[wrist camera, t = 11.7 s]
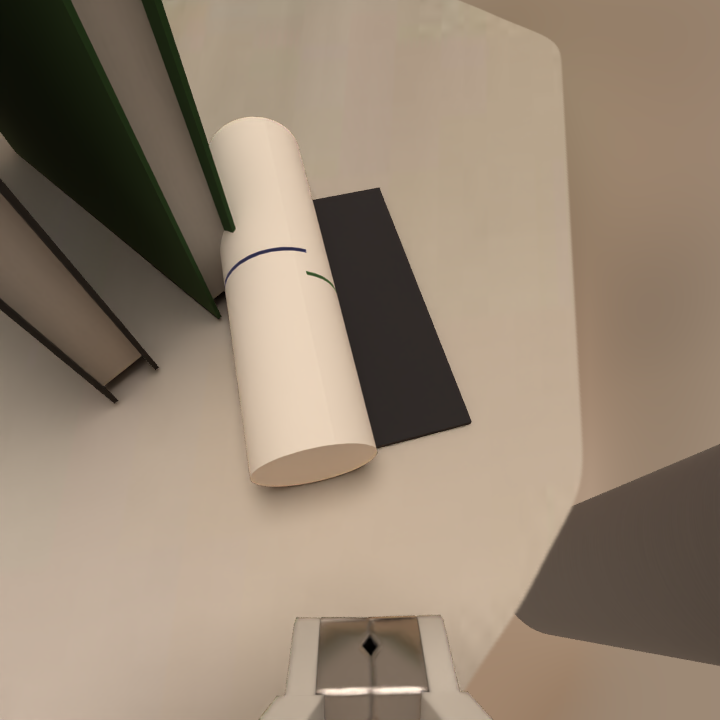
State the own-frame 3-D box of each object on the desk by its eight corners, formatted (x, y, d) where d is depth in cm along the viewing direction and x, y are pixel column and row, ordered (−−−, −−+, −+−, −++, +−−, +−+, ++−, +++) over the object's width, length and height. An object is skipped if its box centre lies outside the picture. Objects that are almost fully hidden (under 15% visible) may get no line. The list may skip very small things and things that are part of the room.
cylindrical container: (240, 493, 28) (202, 187, 39) (351, 477, 31) (288, 198, 42) (264, 452, 22) (212, 107, 33) (398, 437, 25) (310, 126, 36)
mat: (379, 190, 41) (379, 187, 41) (470, 423, 32) (471, 421, 32) (217, 221, 40) (216, 217, 39) (264, 478, 30) (262, 476, 30)
